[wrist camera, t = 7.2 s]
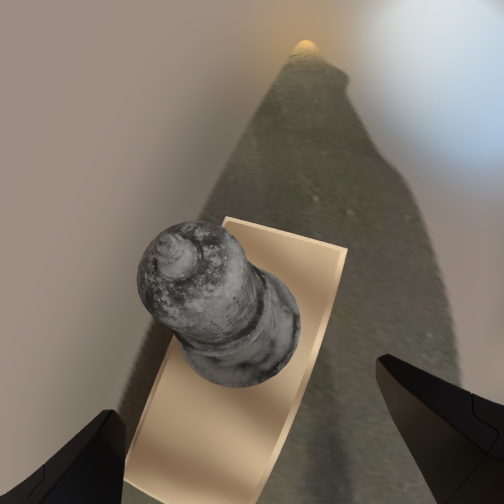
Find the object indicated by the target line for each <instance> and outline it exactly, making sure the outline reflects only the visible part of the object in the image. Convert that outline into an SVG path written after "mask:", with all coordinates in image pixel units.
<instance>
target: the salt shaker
mask: <svg viewBox="0 0 504 504" xmlns="http://www.w3.org/2000/svg"><path fill="white" fill-rule="evenodd" d="M137 287H138V293H139V295H140V298H141V300H142V303H143V304H144V306H145V307H146V309H147V310H148V311H149V312H150V314H151V315H152V316H153V317H154V319H156V320H157V321H159V322H160V323H162V324H163V325H165V326H167V327H169V328H171V330H172V332H173V334H174V336H175V337H176V338H177V340H178V345H179V348H180V350H181V352H182V354H183V356H184V358H185V360H186V362H187V363H188V364H189V365H190V367H191V368H192V369H193V370H194V371H195V372H196V373H197V374H198V375H200V376H201V377H203V378H205V379H206V380H208V381H209V382H211V383H214V384H217V385H221V386H224V387H230V388H246V387H250V386H253V385H257V384H261V383H263V382H265V381H267V380H268V379H270V378H272V377H273V376H275V375H277V374H278V373H279V372H280V371H281V370H282V369H283V368H284V367H285V366H286V365H287V364H288V363H289V361H290V359H291V358H292V356H293V354H294V352H295V350H296V348H297V346H298V341H299V337H300V333H301V320H300V312H299V309H298V306H297V303H296V300H295V298H294V296H293V295H292V293H291V292H290V290H289V289H288V287H287V286H286V285H285V284H284V283H283V282H282V281H280V280H279V279H278V278H277V277H276V276H275V275H273V274H271V273H269V272H267V271H265V270H262V269H260V268H257V267H255V266H254V265H253V264H252V263H251V262H250V261H248V260H247V258H246V255H245V252H244V249H243V248H242V246H241V245H240V243H239V242H238V240H237V239H236V238H235V237H234V236H233V235H232V234H231V233H230V232H228V231H227V230H226V229H225V228H224V227H222V226H220V225H217V224H215V223H213V222H208V221H201V220H196V221H186V222H183V223H180V224H177V225H174V226H171V227H169V228H168V229H166V230H164V231H163V232H161V233H160V234H159V235H158V236H157V237H156V238H155V239H154V240H153V241H152V242H151V243H150V244H149V246H148V247H147V249H146V250H145V252H144V254H143V257H142V259H141V261H140V264H139V267H138V274H137Z"/></svg>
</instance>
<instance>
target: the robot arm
mask: <svg viewBox="0 0 504 504" xmlns="http://www.w3.org/2000/svg"><path fill="white" fill-rule="evenodd" d="M376 380H377V383H378V385H379V388H380V390H381V393H382V395H383V397H384V400H385V402H386V405H387V407H388V410H389V412H390V415H391V417H392V419H393V421H394V423H395V425H396V427H397V428H398V430H399V432H400V434H401V436H402V437H403V439H404V441H405V443H406V445H407V447H408V448H409V450H410V452H411V454H412V456H413V458H414V460H415V461H416V463H417V465H418V467H419V469H420V471H421V473H422V475H423V477H424V479H425V481H426V482H427V484H428V486H429V488H430V490H431V492H432V494H433V496H434V498H435V500H436V502H437V504H504V405H501V404H498V403H495V402H492V401H490V400H487V399H485V398H483V397H480V396H478V395H476V394H473V393H472V394H471V392H469V391H467V390H464V389H462V388H460V387H458V386H456V385H454V384H451V383H449V382H447V381H445V380H443V379H441V378H438V377H436V376H434V375H432V374H430V373H428V372H426V371H424V370H422V369H419V368H417V367H415V366H413V365H411V364H409V363H407V362H405V361H403V360H401V359H399V358H397V357H395V356H392V355H390V354H385V355H382V356H380V357H378V358H377V359H376ZM125 460H126V425H125V423H124V422H123V420H122V419H121V418H120V417H119V415H118V414H117V413H116V411H114V410H103V411H102V412H101V413H100V414H98V415H97V416H96V417H95V418H94V419H93V420H92V421H91V422H90V423H89V424H88V425H86V426H85V427H84V428H83V429H82V430H81V431H80V432H79V433H78V434H77V435H75V436H74V437H73V438H72V439H71V440H70V441H69V442H68V443H67V444H66V445H64V446H63V447H62V448H61V449H60V450H59V451H58V452H57V453H56V454H54V456H52V457H51V458H50V459H49V460H48V461H47V462H46V463H45V464H43V465H42V466H41V467H40V468H39V469H38V470H36V471H35V472H34V473H33V474H32V475H31V476H29V477H28V478H27V479H25V480H24V481H23V482H21V483H20V484H19V485H17V486H16V487H14V488H13V489H11V490H10V491H9V492H7V493H6V494H4V495H2V496H0V504H121V499H122V489H123V480H124V471H125Z"/></svg>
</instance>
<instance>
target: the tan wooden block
mask: <svg viewBox="0 0 504 504" xmlns="http://www.w3.org/2000/svg"><path fill="white" fill-rule="evenodd" d="M222 227H224V228H225V229H226V230H227V231H228V232H230V233H231V234H232V235H233V236H234V237H235V238H236V239H237V240H238V242H239V243H240V245H241V246H242V248H243V249H244V252H245V255H246V258H247V260H248V261H250V262H251V263H252V264H253V265H254V266H255V267H257V268H260V269H262V270H265V271H267V272H269V273H271V274H273V275H275V276H276V277H277V278H278V279H279V280H280V281H282V282H283V283H284V284H285V285H286V286H287V287H288V289H289V290H290V292H291V293H292V295H293V296H294V298H295V300H296V303H297V306H298V309H299V312H300V320H301V333H300V337H299V341H298V346H297V348H296V350H295V352H294V354H293V356H292V358H291V359H290V361H289V363H288V364H287V365H286V366H285V367H284V368H283V369H282V370H281V371H280V372H279V373H278V374H277V375H275V376H273V377H272V378H270V379H268V380H267V381H265V382H263V383H261V384H257V385H253V386H250V387H246V388H230V387H224V386H221V385H217V384H214V383H211V382H209V381H208V380H206V379H205V378H203V377H201V376H200V375H198V374H197V373H196V372H195V371H194V370H193V369H192V368H191V367H190V365H189V364H188V363H187V362H186V360H185V358H184V356H183V354H182V352H181V350H180V348H179V345H178V340H177V338H176V337H175V336H174V335H173V337H172V340H171V342H170V345H169V347H168V350H167V352H166V355H165V357H164V359H163V362H162V364H161V367H160V369H159V372H158V374H157V377H156V379H155V382H154V385H153V387H152V390H151V392H150V395H149V397H148V400H147V403H146V405H145V408H144V411H143V413H142V416H141V419H140V421H139V424H138V427H137V429H136V432H135V435H134V438H133V440H132V443H131V446H130V449H129V451H128V454H127V457H126V460H125V471H124V480H125V481H126V482H128V483H129V484H131V485H133V486H134V487H136V488H138V489H139V490H141V491H143V492H144V493H146V494H148V495H150V496H151V497H153V498H155V499H157V500H159V501H161V502H163V503H165V504H255V503H256V501H257V499H258V497H259V495H260V493H261V491H262V489H263V487H264V485H265V483H266V481H267V479H268V477H269V475H270V473H271V471H272V469H273V466H274V464H275V462H276V460H277V458H278V455H279V453H280V451H281V449H282V446H283V444H284V442H285V439H286V437H287V435H288V432H289V430H290V427H291V425H292V422H293V420H294V418H295V415H296V412H297V410H298V407H299V405H300V402H301V400H302V397H303V394H304V392H305V389H306V386H307V383H308V381H309V378H310V375H311V372H312V369H313V366H314V363H315V360H316V357H317V355H318V351H319V348H320V345H321V342H322V339H323V336H324V333H325V330H326V326H327V323H328V320H329V316H330V313H331V310H332V306H333V303H334V299H335V295H336V292H337V288H338V284H339V281H340V277H341V273H342V269H343V265H344V261H345V257H346V253H347V249H346V248H342V247H339V246H335V245H332V244H328V243H325V242H321V241H318V240H314V239H310V238H307V237H303V236H299V235H296V234H292V233H288V232H285V231H281V230H277V229H273V228H270V227H266V226H262V225H258V224H254V223H250V222H247V221H243V220H239V219H235V218H231V217H227V216H226V218H225V220H224V222H223V224H222Z"/></svg>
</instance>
